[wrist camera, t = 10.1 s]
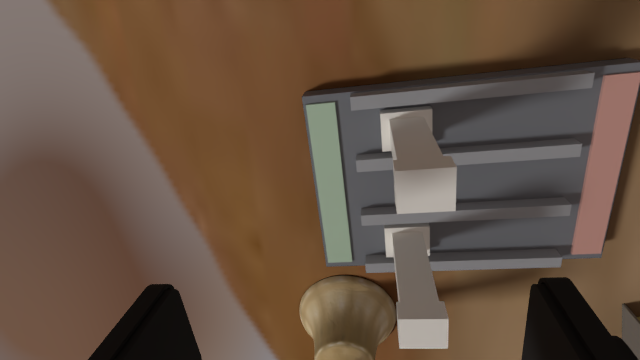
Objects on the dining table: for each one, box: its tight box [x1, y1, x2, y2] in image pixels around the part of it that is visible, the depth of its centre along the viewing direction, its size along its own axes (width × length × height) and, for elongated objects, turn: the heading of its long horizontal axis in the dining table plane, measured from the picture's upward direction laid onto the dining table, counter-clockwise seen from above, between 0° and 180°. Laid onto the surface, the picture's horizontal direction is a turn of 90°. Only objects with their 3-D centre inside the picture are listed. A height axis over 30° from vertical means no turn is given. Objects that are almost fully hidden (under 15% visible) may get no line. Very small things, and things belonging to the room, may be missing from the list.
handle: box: [384, 223, 449, 349], centre depth 23 cm, size 3×2×9 cm
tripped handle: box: [380, 106, 457, 214], centre depth 19 cm, size 3×2×9 cm
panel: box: [302, 58, 640, 273], centre depth 25 cm, size 19×13×2 cm
